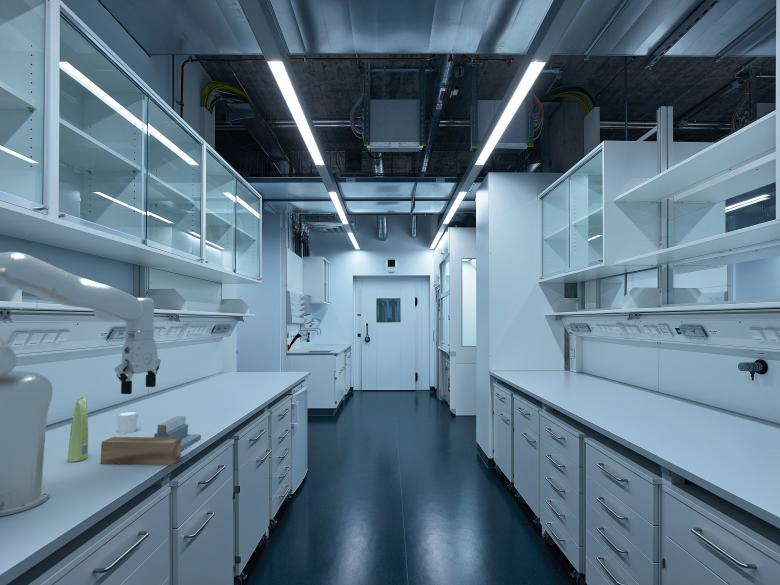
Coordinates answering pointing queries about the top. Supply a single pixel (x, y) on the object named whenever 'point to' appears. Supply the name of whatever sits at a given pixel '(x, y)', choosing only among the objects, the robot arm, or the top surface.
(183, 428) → the stand
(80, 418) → the tube
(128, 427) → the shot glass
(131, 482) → the top surface
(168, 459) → the walnut bar
